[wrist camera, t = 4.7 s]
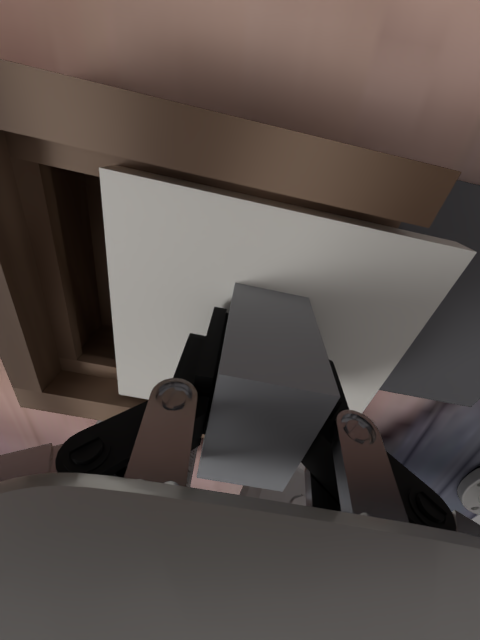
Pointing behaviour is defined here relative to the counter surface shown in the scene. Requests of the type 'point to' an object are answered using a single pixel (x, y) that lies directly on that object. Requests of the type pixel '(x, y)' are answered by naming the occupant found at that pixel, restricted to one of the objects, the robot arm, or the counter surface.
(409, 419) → the counter surface
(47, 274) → the box
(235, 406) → the lid
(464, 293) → the mat
